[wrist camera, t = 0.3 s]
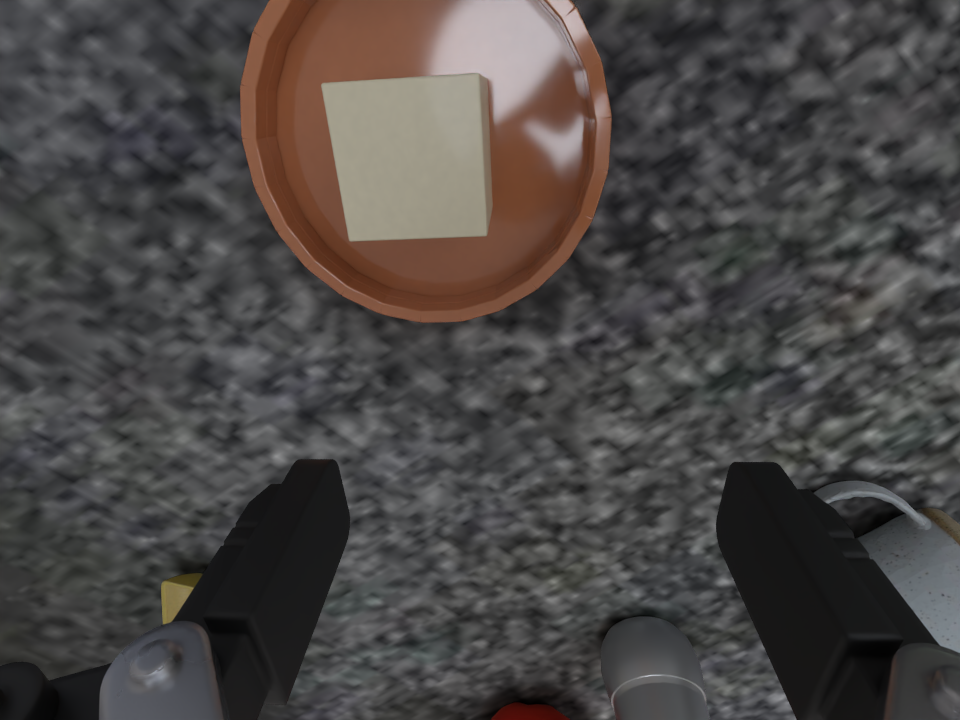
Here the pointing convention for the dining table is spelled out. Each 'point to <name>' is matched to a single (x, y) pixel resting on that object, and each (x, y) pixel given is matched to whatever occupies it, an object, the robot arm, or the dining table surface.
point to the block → (412, 156)
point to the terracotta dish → (513, 142)
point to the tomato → (528, 712)
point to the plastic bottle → (652, 672)
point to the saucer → (176, 594)
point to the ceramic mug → (914, 557)
